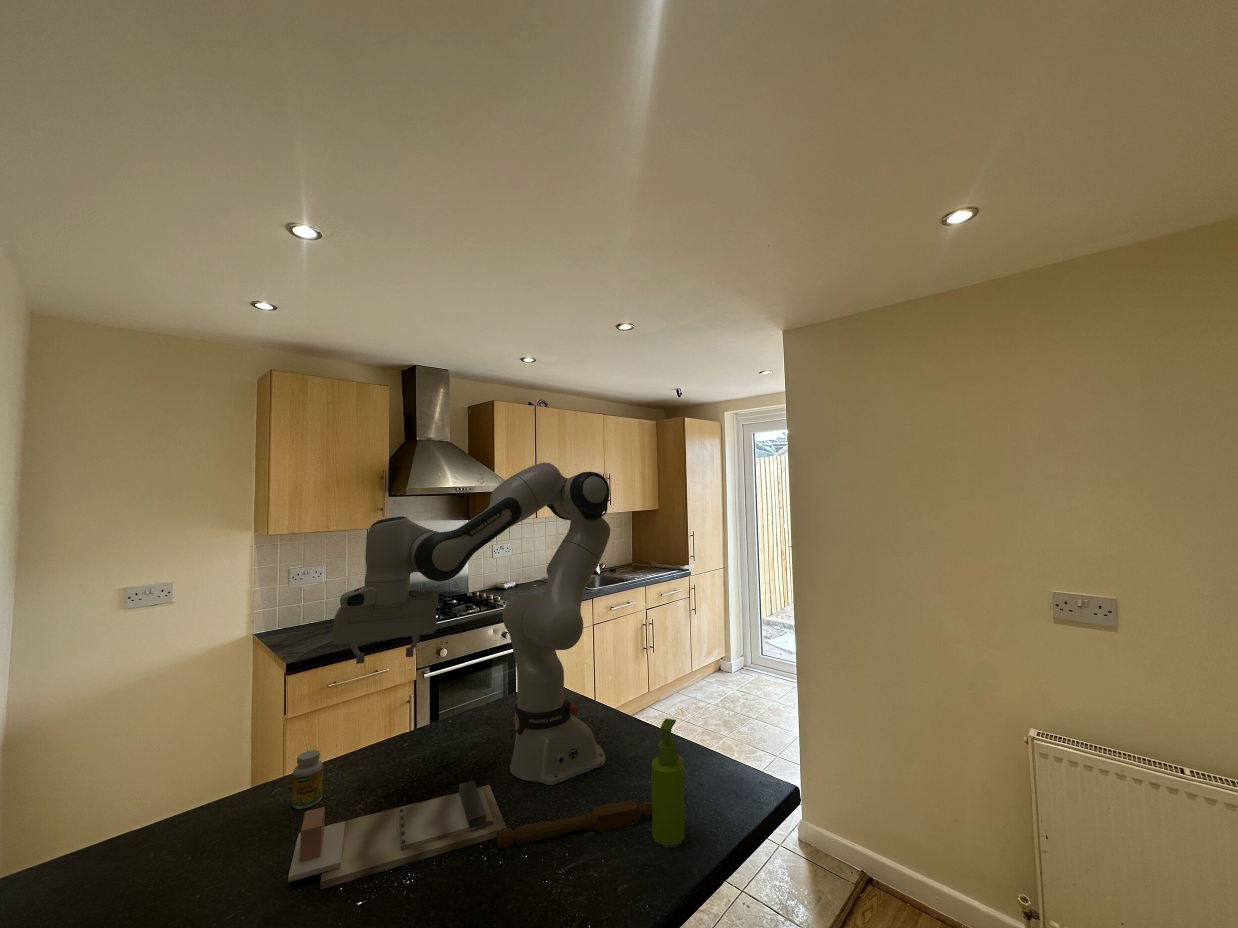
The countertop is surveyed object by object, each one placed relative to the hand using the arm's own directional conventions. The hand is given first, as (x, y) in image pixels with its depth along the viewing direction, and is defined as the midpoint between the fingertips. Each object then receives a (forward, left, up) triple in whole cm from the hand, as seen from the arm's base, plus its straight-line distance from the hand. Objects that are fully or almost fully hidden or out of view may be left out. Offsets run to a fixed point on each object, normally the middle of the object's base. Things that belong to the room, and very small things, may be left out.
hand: (385, 659), depth 105 cm
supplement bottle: (+14, -8, -29) cm, 33 cm away
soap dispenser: (-48, +35, -29) cm, 66 cm away
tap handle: (-34, +26, -30) cm, 52 cm away
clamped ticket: (-6, +13, -29) cm, 32 cm away
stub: (+10, +13, -28) cm, 32 cm away
